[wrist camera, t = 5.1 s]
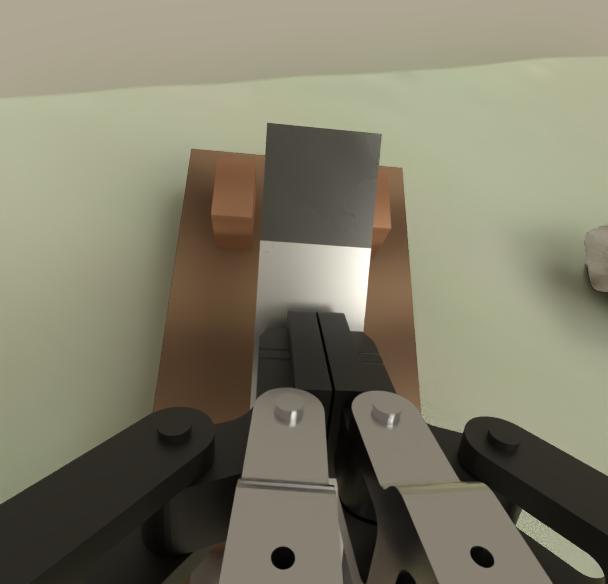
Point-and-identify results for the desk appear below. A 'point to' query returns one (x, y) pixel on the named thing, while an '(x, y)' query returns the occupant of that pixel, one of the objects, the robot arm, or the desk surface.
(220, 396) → the lever base
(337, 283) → the lever
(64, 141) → the desk surface
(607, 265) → the artificial flower
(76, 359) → the desk surface
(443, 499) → the robot arm
